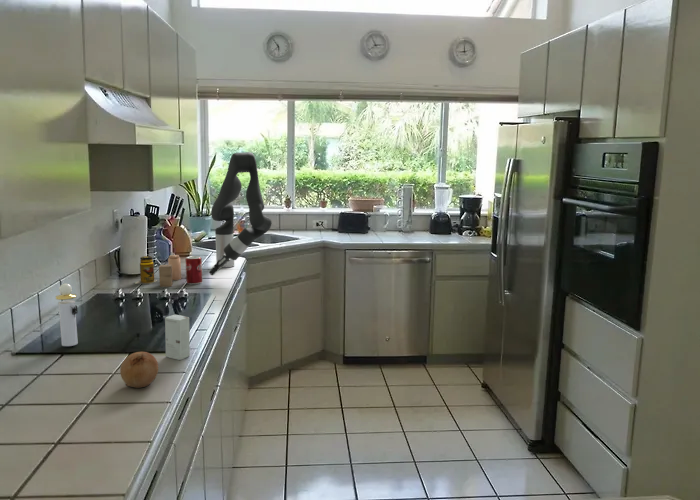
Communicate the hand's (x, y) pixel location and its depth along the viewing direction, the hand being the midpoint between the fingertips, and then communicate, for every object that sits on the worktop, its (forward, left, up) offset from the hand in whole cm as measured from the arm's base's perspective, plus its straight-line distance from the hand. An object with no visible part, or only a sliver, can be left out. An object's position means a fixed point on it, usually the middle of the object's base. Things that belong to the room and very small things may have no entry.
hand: (210, 273), depth 277 cm
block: (+6, -19, -5) cm, 20 cm away
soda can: (0, -8, -5) cm, 9 cm away
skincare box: (+99, +20, -5) cm, 101 cm away
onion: (+121, +18, -5) cm, 122 cm away
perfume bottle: (+92, -17, -5) cm, 94 cm away
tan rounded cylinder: (-8, -20, -4) cm, 22 cm away
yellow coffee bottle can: (0, -31, -5) cm, 31 cm away
